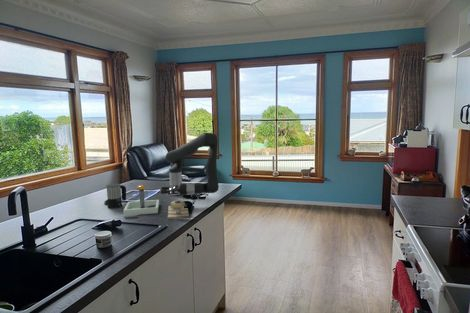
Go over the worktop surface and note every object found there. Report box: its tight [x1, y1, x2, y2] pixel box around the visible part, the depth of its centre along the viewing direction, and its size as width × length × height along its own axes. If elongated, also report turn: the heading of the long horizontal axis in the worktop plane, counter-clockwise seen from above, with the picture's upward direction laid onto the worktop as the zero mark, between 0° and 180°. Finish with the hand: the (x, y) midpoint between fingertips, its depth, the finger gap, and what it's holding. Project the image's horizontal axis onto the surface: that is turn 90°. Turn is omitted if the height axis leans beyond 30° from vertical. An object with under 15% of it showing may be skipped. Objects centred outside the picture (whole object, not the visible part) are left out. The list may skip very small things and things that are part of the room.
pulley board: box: [167, 199, 190, 220], centre depth 191 cm, size 25×12×9 cm, turn 11°
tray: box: [123, 199, 160, 218], centre depth 195 cm, size 19×19×4 cm
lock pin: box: [136, 184, 146, 208], centre depth 194 cm, size 5×5×15 cm
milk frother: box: [103, 183, 127, 209], centre depth 210 cm, size 14×16×15 cm
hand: (161, 190), depth 197 cm, fingers open, 8 cm apart
